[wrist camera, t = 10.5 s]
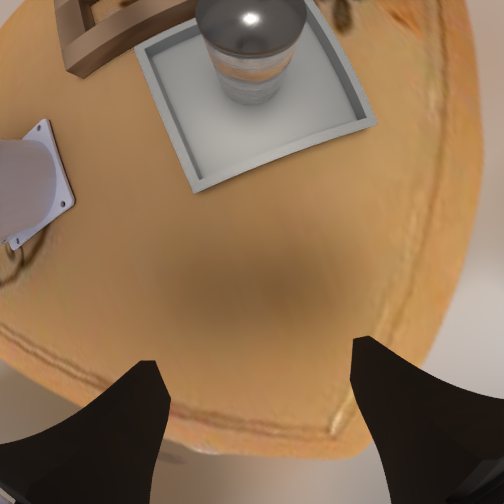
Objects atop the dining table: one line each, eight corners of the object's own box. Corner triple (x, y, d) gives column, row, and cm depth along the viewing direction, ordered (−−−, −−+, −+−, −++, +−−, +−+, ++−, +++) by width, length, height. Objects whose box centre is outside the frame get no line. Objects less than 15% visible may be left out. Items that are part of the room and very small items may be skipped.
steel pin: (281, 106, 16) (308, 55, 7) (217, 105, 16) (190, 52, 7) (282, 52, 14) (304, -21, 6) (220, 51, 14) (200, -24, 6)
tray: (199, 191, 18) (194, 193, 16) (143, 57, 15) (133, 47, 13) (366, 128, 16) (378, 124, 14) (299, 2, 14) (304, -12, 12)
